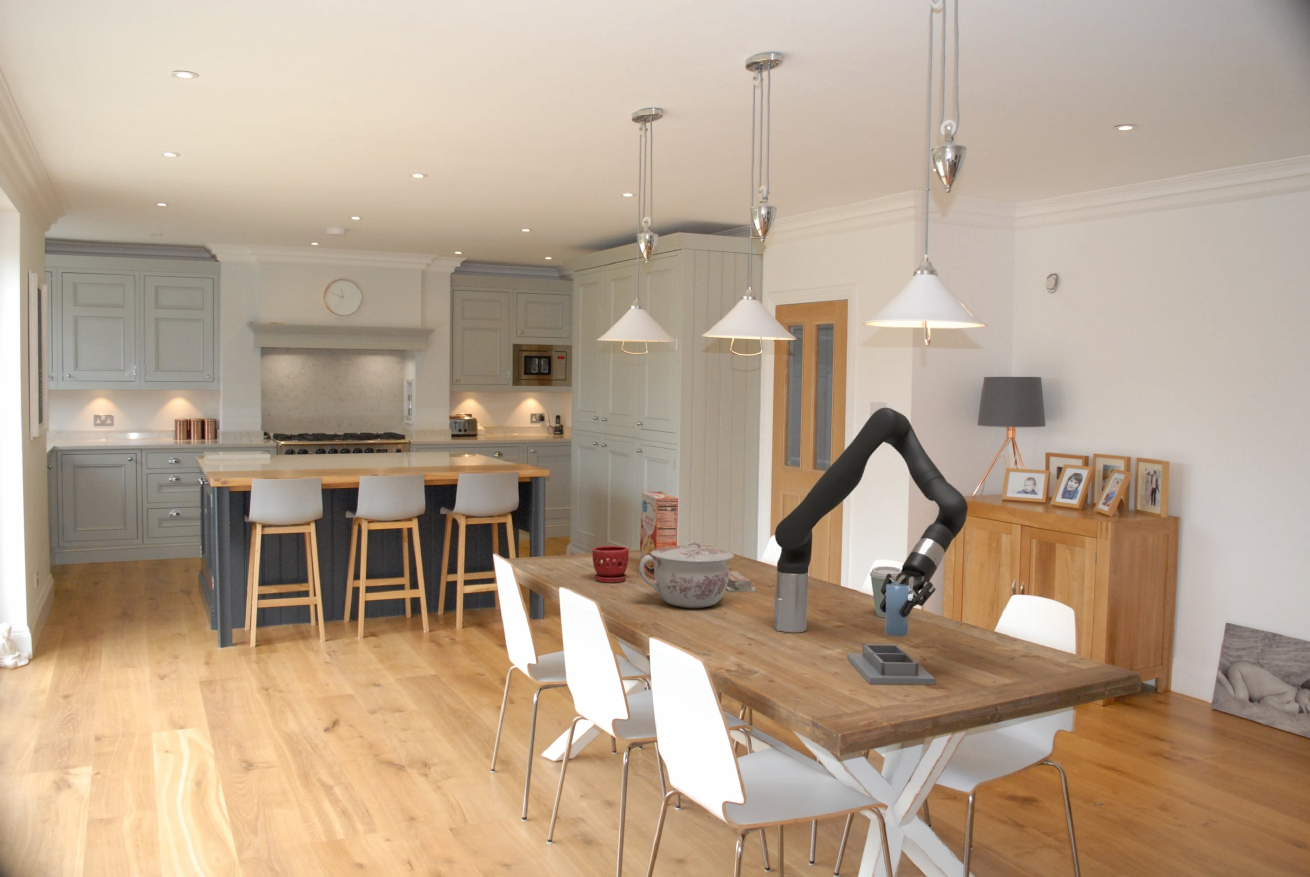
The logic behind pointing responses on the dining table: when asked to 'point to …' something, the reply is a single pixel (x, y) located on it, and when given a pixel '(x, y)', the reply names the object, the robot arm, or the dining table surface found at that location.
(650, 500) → the orange cereal box
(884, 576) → the disposable coffee cup
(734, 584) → the packaged product
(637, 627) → the dining table surface
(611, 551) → the plant pot
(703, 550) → the chamber pot
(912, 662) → the tray
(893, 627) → the pale blue cylinder
